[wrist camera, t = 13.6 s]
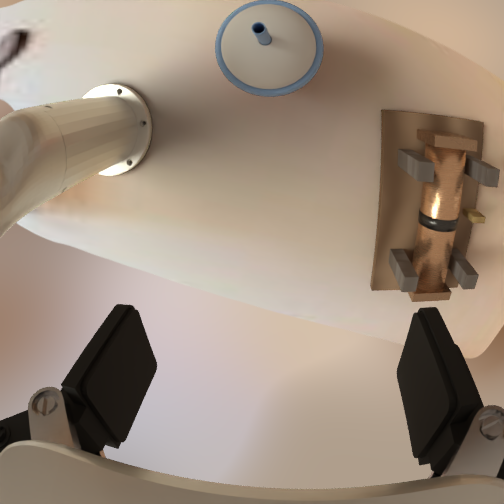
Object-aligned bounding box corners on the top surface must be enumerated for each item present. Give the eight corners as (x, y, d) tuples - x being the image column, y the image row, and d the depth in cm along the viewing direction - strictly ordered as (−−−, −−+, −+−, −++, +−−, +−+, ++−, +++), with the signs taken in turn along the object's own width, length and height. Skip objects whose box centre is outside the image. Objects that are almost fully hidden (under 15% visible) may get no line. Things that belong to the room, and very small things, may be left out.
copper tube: (435, 277, 40) (449, 299, 35) (401, 278, 41) (412, 301, 36) (455, 133, 31) (477, 140, 26) (416, 128, 32) (435, 135, 27)
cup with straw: (328, 43, 30) (357, 1, 14) (295, 109, 34) (296, 121, 18) (255, 13, 29) (221, -48, 13) (223, 78, 33) (164, 68, 17)
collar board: (370, 285, 43) (381, 322, 36) (381, 109, 32) (403, 114, 25) (454, 283, 41) (475, 316, 34) (479, 121, 30) (514, 131, 23)
